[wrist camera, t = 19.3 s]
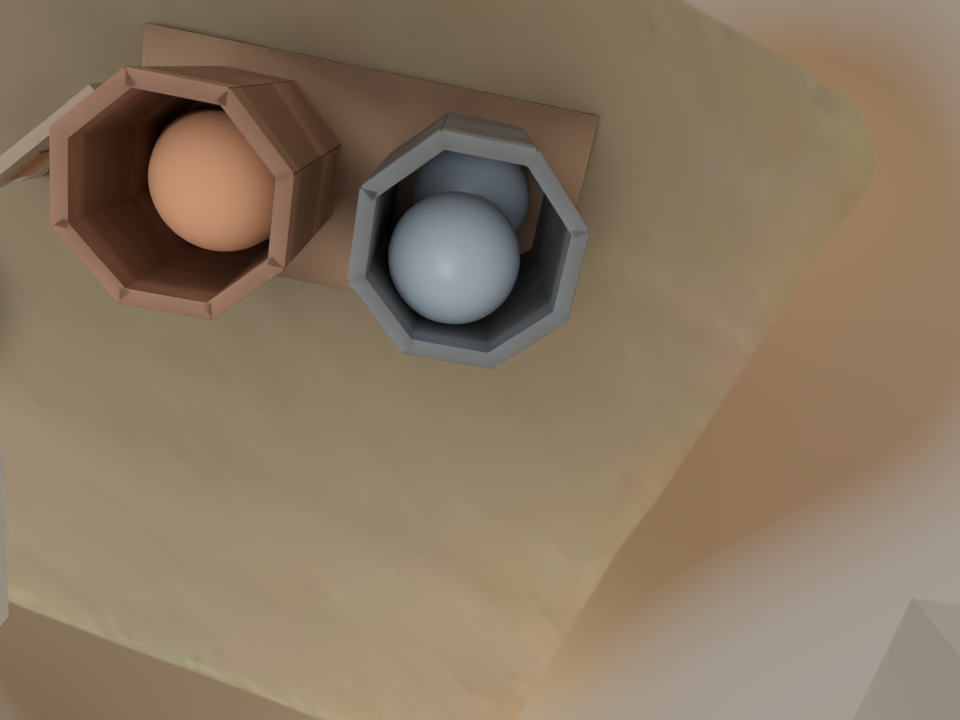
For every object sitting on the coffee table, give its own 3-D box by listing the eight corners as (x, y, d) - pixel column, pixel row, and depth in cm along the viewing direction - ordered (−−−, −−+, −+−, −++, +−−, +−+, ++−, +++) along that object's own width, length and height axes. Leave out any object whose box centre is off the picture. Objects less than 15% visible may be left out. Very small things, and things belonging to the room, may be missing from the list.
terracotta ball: (118, 99, 32) (216, 93, 29) (231, 126, 37) (324, 123, 34) (116, 244, 33) (211, 252, 30) (227, 250, 38) (317, 258, 35)
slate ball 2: (405, 151, 33) (365, 279, 31) (540, 185, 33) (507, 315, 31) (411, 212, 39) (378, 322, 37) (526, 241, 38) (498, 353, 37)
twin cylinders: (31, -1, 40) (-163, -30, 27) (596, 115, 42) (647, 136, 30) (34, 226, 44) (-133, 288, 32) (547, 320, 46) (574, 411, 34)
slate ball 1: (424, 141, 42) (423, 110, 36) (530, 163, 43) (547, 135, 37) (404, 249, 42) (401, 236, 36) (511, 269, 43) (525, 259, 37)
